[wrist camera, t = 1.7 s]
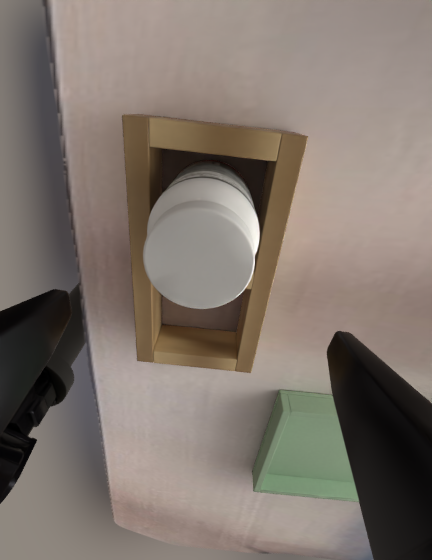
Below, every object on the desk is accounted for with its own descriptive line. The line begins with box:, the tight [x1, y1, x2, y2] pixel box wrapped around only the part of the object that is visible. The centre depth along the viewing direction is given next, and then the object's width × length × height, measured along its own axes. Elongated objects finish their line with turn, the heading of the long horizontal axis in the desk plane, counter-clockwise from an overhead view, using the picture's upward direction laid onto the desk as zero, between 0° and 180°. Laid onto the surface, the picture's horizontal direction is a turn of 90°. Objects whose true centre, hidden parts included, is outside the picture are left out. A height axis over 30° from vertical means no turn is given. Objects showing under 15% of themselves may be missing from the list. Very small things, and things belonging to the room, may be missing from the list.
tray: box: [252, 390, 359, 502], centre depth 34 cm, size 28×18×2 cm, turn 84°
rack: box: [122, 114, 308, 373], centre depth 21 cm, size 10×18×4 cm, turn 174°
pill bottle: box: [143, 160, 260, 309], centre depth 16 cm, size 6×6×10 cm
